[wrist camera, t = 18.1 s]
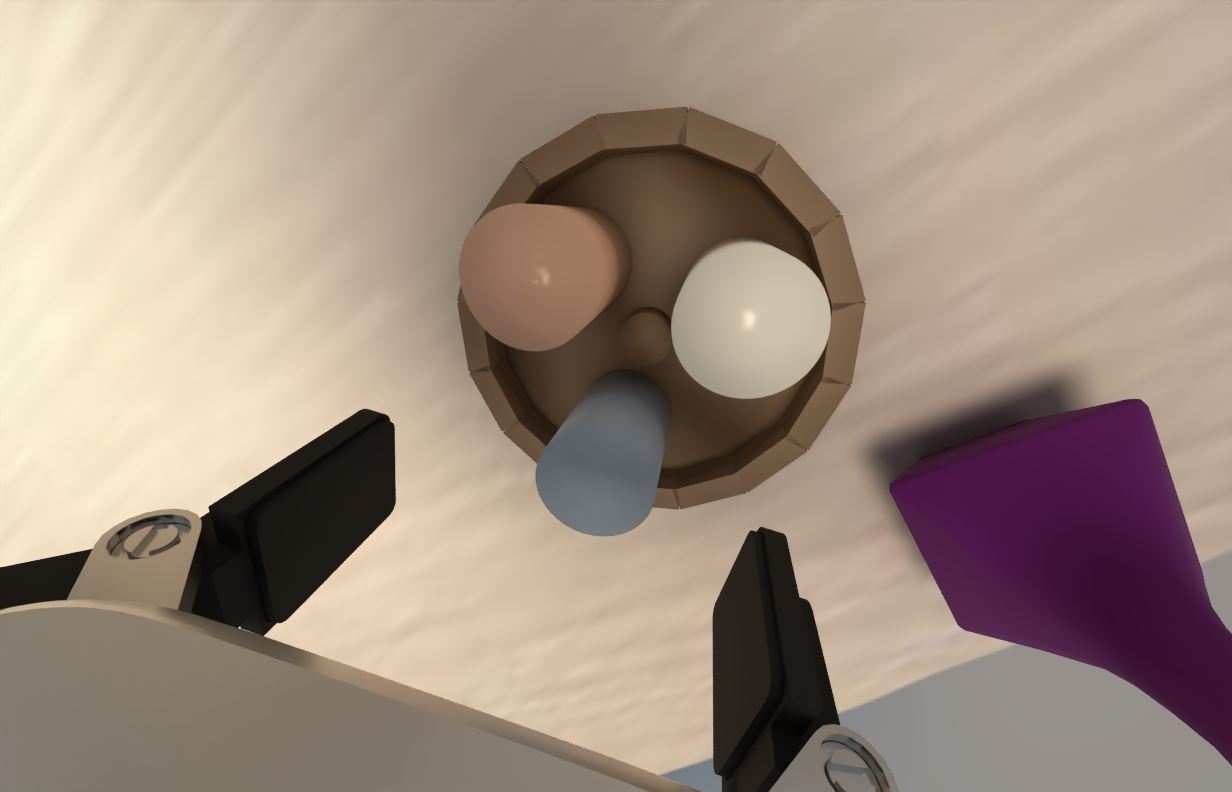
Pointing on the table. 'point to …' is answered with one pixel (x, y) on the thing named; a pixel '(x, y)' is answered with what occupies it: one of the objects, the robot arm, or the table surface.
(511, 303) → the bead terracotta
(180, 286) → the table surface
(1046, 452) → the perfume bottle
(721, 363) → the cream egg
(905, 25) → the table surface
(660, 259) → the groove tray
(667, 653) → the table surface
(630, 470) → the bead slate
